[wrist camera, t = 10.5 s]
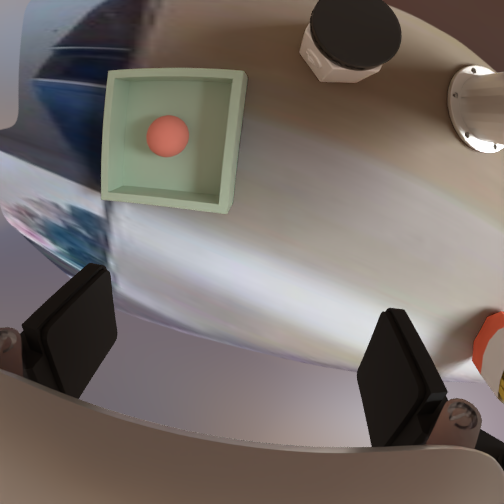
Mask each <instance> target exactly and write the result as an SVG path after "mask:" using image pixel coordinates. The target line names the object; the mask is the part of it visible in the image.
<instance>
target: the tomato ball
mask: <svg viewBox="0 0 504 504" xmlns="http://www.w3.org/2000/svg"><path fill="white" fill-rule="evenodd" d="M146 139H147V144H148V146H149V148H150V150H151V151H152V152H153V153H155V154H156V155H158V156H161V157H172V156H175V155H177V154H179V153H180V152H182V151H183V150H184V148H185V147H186V145H187V143H188V140H189V131H188V127H187V125H186V124H185V122H184V121H183V120H181V119H180V118H178V117H176V116H172V115H166V116H161V117H159V118H157V119H156V120H154V121H153V122H152V123H151V125H150V126H149V128H148V131H147V135H146Z"/></svg>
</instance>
